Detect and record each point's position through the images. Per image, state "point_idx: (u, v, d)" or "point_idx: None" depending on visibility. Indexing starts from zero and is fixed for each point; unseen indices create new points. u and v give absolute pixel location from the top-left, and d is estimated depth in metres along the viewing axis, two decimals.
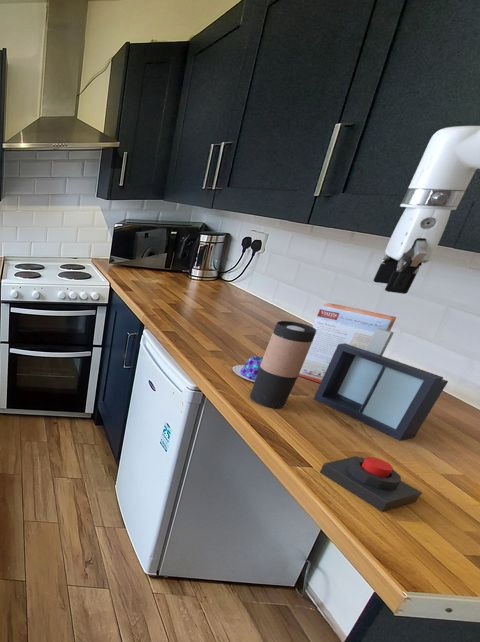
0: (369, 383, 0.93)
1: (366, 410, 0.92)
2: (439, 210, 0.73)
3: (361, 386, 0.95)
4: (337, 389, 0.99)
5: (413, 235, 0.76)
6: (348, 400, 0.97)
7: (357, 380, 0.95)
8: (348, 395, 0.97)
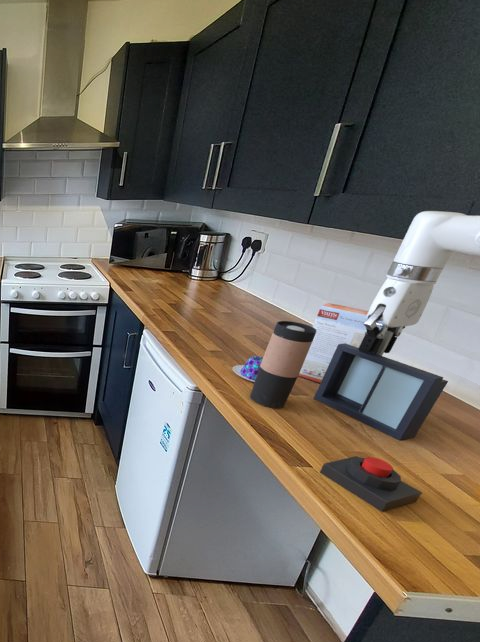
0: (369, 383, 0.93)
1: (366, 410, 0.92)
2: (399, 281, 0.83)
3: (361, 386, 0.95)
4: (337, 389, 0.99)
5: (377, 300, 0.87)
6: (348, 400, 0.97)
7: (357, 380, 0.95)
8: (348, 395, 0.97)
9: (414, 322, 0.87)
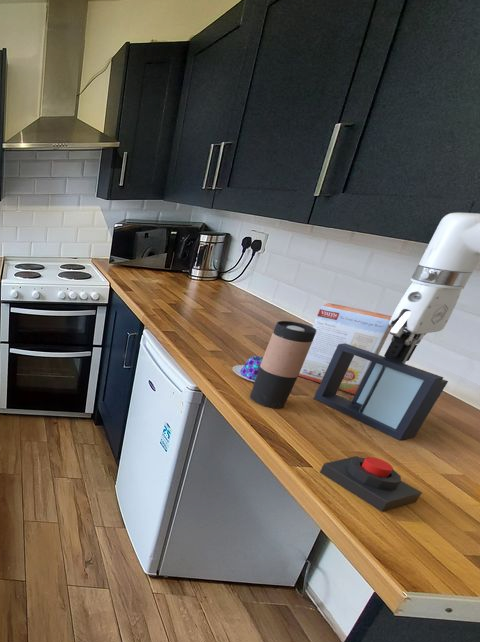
0: None
1: (366, 410, 0.92)
2: (425, 286, 0.80)
3: None
4: (356, 397, 0.96)
5: (401, 306, 0.83)
6: None
7: None
8: None
9: (440, 328, 0.84)
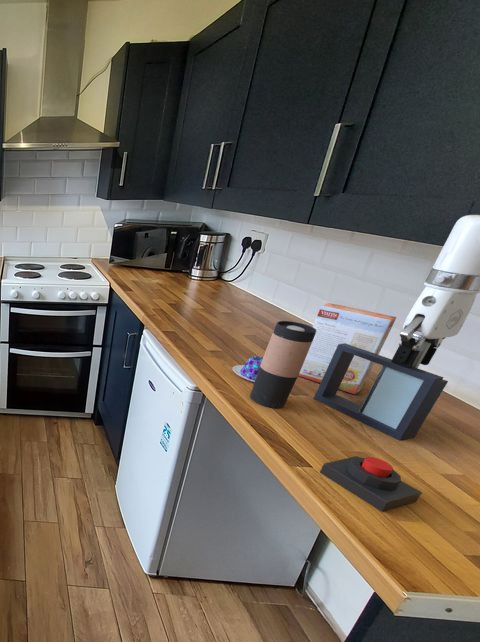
0: None
1: (366, 410, 0.92)
2: (440, 290, 0.78)
3: None
4: None
5: (415, 310, 0.81)
6: None
7: None
8: None
9: (454, 333, 0.82)
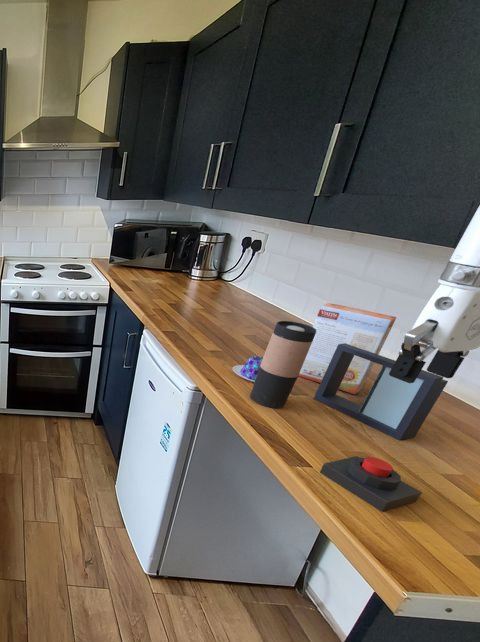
0: None
1: (366, 410, 0.92)
2: (459, 289, 0.60)
3: None
4: None
5: (425, 315, 0.63)
6: None
7: None
8: None
9: (476, 346, 0.64)
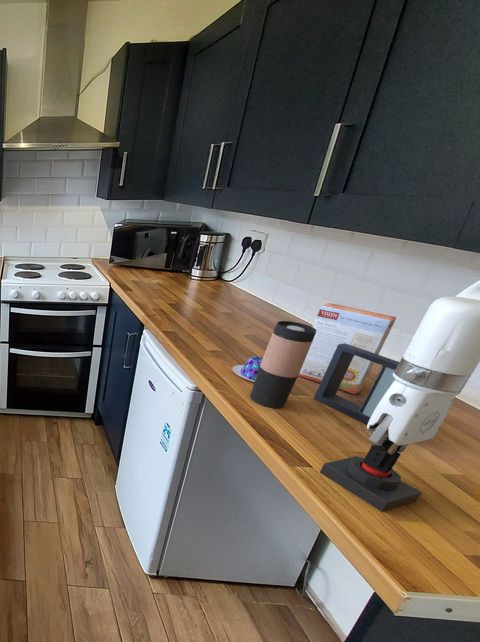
0: None
1: (366, 410, 0.92)
2: (411, 389, 0.62)
3: None
4: None
5: (381, 408, 0.66)
6: None
7: None
8: None
9: (430, 436, 0.66)
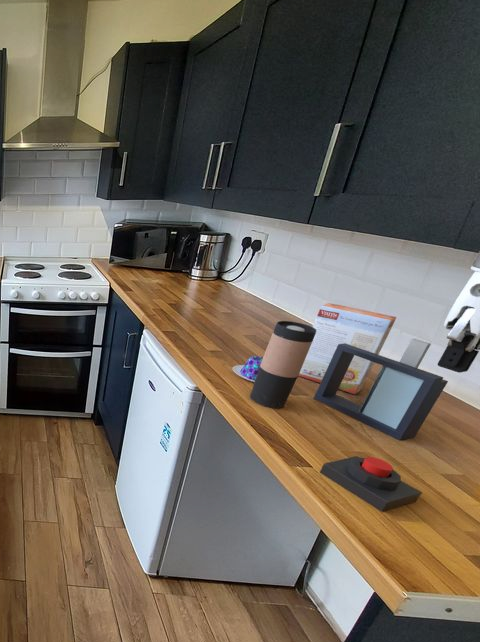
0: None
1: (366, 410, 0.92)
2: None
3: None
4: None
5: (461, 302, 0.65)
6: None
7: None
8: None
9: None
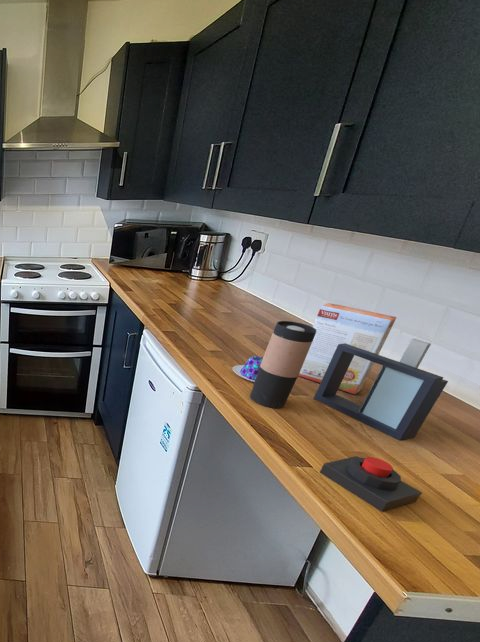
0: None
1: (366, 410, 0.92)
2: None
3: None
4: None
5: None
6: None
7: None
8: None
9: None
